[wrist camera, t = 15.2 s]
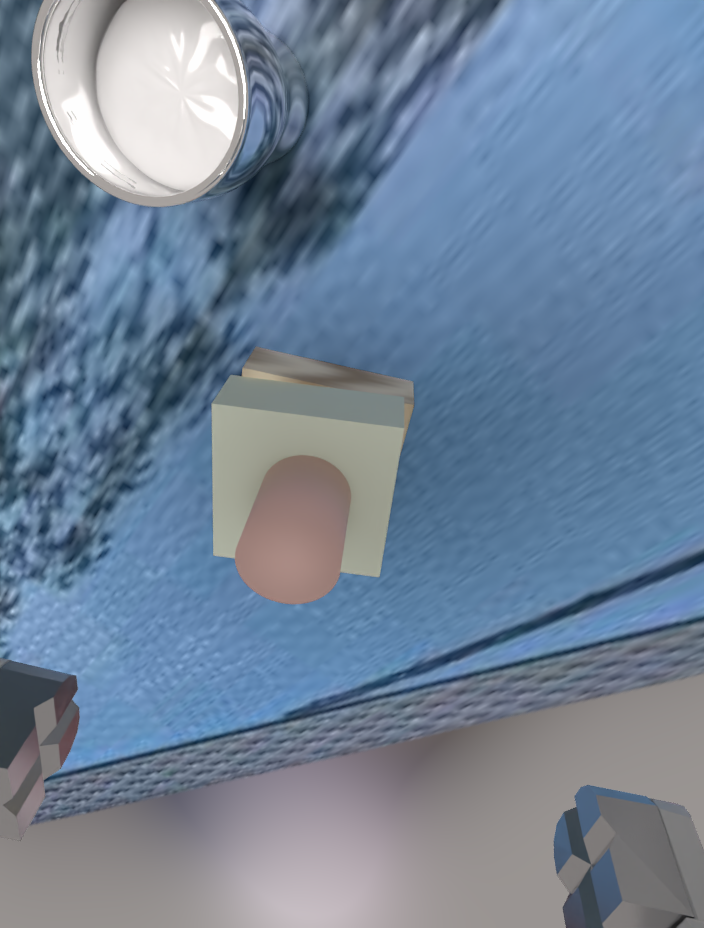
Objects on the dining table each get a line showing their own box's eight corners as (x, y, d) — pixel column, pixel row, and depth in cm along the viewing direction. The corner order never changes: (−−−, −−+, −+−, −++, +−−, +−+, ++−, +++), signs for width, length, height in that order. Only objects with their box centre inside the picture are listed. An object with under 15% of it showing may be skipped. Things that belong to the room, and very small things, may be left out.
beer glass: (344, 115, 31) (303, 117, 18) (244, 202, 34) (143, 258, 21) (256, -22, 29) (134, -134, 16) (154, 82, 31) (-25, 60, 18)
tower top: (404, 397, 35) (404, 428, 31) (381, 536, 40) (379, 577, 36) (230, 374, 35) (211, 403, 31) (229, 517, 40) (213, 555, 36)
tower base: (413, 379, 38) (414, 405, 35) (377, 506, 43) (375, 540, 40) (257, 344, 38) (242, 367, 35) (239, 477, 43) (225, 509, 40)
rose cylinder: (359, 465, 33) (349, 532, 27) (342, 539, 35) (330, 612, 30) (267, 446, 32) (240, 510, 27) (256, 521, 35) (230, 592, 30)
